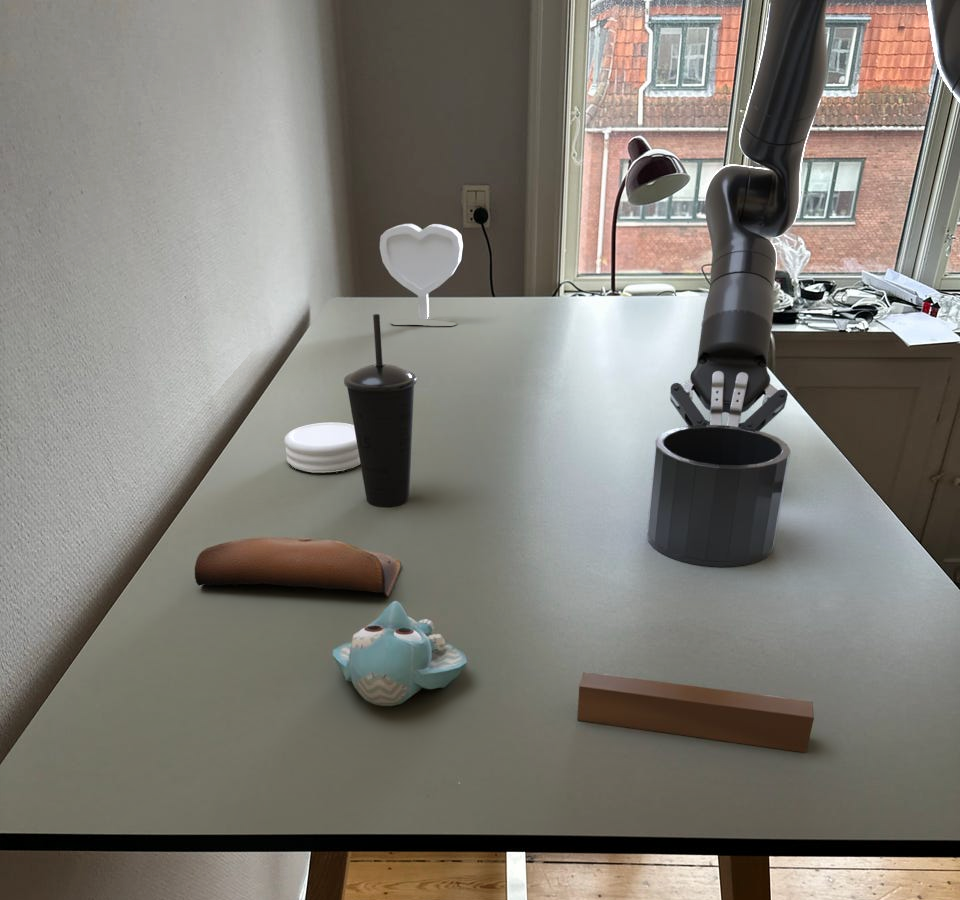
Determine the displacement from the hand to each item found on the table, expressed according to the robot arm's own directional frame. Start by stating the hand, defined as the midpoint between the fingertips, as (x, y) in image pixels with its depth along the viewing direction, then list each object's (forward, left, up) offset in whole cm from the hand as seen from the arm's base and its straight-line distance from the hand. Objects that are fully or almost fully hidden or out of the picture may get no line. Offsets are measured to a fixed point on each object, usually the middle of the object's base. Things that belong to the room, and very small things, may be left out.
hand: (718, 470), depth 98 cm
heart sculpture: (+18, -101, -5) cm, 102 cm away
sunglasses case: (+45, +7, -5) cm, 45 cm away
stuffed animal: (+38, +26, -5) cm, 46 cm away
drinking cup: (+35, -11, -5) cm, 37 cm away
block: (+18, +37, -4) cm, 42 cm away
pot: (+4, +7, -4) cm, 9 cm away
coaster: (+41, -25, -5) cm, 48 cm away
